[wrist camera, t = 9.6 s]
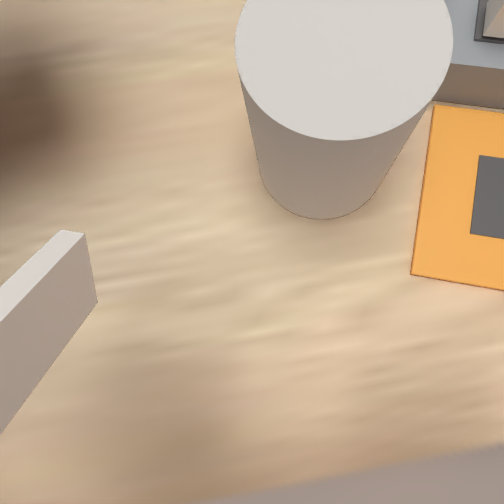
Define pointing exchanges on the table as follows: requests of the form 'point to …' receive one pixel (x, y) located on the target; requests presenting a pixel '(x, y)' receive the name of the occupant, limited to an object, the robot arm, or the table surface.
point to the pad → (462, 199)
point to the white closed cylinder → (337, 92)
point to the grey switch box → (473, 59)
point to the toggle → (494, 19)
